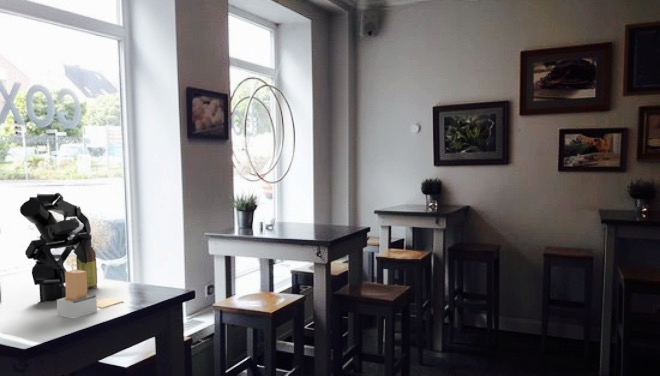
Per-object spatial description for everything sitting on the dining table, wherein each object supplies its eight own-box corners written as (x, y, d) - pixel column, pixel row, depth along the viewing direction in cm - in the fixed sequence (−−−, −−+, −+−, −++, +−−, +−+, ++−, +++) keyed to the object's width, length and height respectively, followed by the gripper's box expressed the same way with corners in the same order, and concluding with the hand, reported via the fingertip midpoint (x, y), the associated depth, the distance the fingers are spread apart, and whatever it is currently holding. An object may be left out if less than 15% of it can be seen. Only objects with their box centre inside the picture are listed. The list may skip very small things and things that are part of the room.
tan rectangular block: (66, 312, 144) (64, 271, 144) (77, 309, 147) (75, 269, 147) (77, 314, 142) (75, 273, 142) (88, 311, 145) (86, 271, 145)
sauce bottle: (82, 287, 178) (80, 232, 177) (100, 286, 178) (98, 232, 177) (74, 292, 171) (72, 235, 170) (93, 291, 172) (90, 235, 171)
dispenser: (53, 317, 143) (52, 297, 143) (106, 301, 159) (106, 283, 159) (73, 321, 139) (72, 301, 139) (126, 304, 155) (125, 286, 154)
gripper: (29, 213, 143) (54, 253, 139) (86, 207, 160) (111, 243, 155) (14, 238, 147) (38, 278, 143) (72, 230, 164) (95, 266, 159)
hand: (72, 265), depth 150 cm, fingers open, 9 cm apart
